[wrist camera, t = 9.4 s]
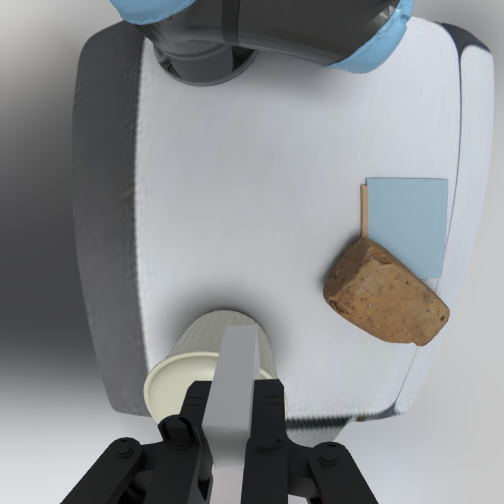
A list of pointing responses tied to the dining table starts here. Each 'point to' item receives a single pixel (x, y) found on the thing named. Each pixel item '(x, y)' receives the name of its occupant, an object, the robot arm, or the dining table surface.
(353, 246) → the pitted brown rock
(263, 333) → the canister
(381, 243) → the book
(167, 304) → the dining table surface
